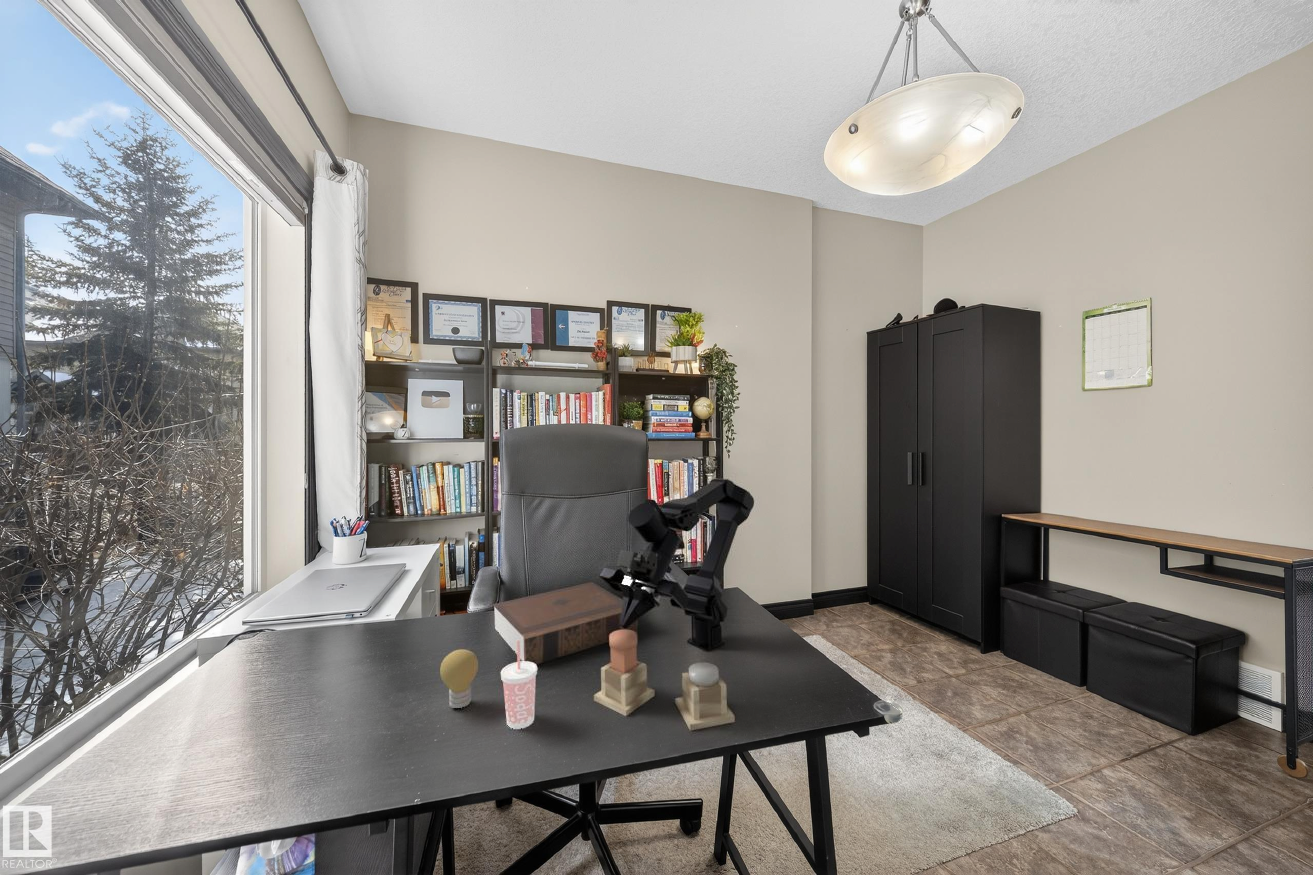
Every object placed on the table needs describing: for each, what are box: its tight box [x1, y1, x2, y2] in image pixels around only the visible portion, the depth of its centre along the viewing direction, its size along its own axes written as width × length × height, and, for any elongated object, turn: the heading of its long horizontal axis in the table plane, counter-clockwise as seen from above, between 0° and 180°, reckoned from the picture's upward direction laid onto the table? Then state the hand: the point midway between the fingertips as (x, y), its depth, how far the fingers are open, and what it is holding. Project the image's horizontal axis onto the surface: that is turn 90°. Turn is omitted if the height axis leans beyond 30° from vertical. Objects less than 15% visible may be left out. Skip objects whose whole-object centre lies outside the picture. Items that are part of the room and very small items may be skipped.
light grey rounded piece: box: [688, 662, 720, 687], centre depth 85 cm, size 5×5×6 cm
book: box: [491, 581, 639, 665], centre depth 120 cm, size 24×28×7 cm
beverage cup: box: [500, 641, 538, 730], centre depth 83 cm, size 6×6×14 cm
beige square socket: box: [675, 671, 736, 731], centre depth 85 cm, size 8×8×6 cm
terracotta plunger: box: [608, 630, 638, 674], centre depth 90 cm, size 5×5×6 cm
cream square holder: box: [593, 660, 656, 717], centre depth 90 cm, size 8×8×6 cm
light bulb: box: [439, 649, 479, 709], centre depth 88 cm, size 6×6×10 cm
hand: (622, 627), depth 89 cm, fingers closed
